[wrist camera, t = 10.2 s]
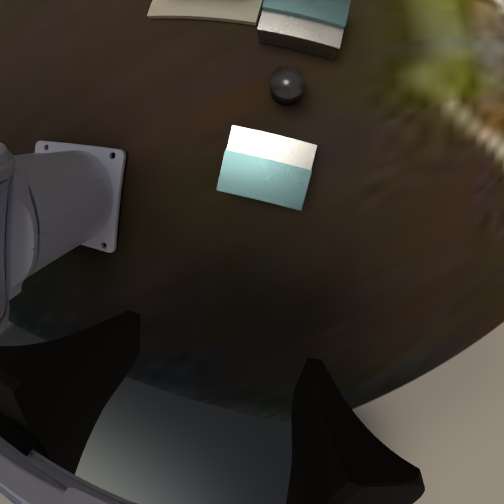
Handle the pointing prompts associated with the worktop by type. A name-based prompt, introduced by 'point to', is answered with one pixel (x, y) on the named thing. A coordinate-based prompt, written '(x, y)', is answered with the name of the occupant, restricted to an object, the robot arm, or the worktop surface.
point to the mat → (208, 10)
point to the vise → (285, 93)
